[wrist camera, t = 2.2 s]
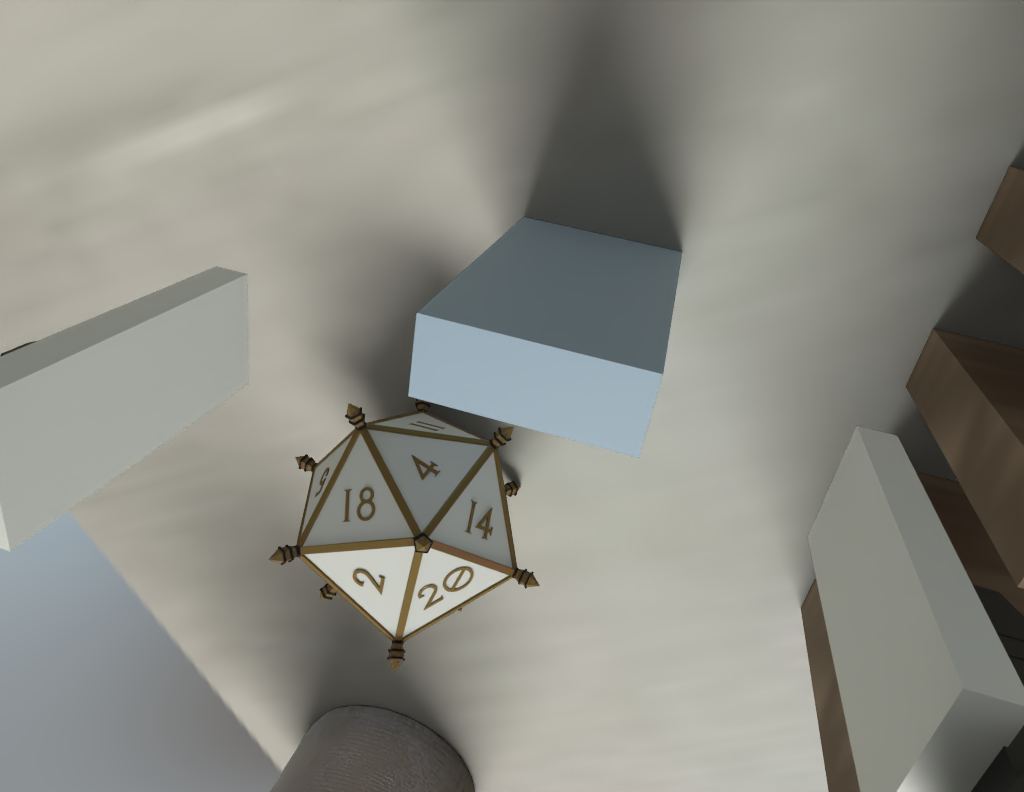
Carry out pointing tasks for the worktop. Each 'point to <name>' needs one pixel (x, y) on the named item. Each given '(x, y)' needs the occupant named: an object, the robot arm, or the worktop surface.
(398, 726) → the pillar candle
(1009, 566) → the domino
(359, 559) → the game die
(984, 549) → the domino
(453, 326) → the domino
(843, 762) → the domino
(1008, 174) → the domino
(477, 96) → the worktop surface
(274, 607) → the worktop surface
